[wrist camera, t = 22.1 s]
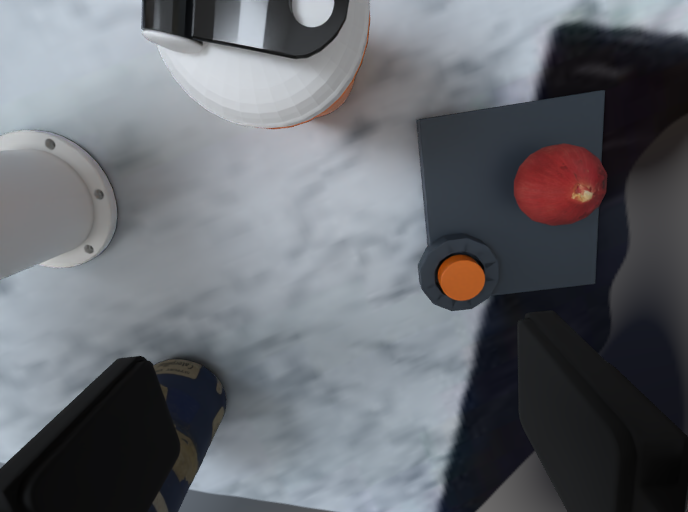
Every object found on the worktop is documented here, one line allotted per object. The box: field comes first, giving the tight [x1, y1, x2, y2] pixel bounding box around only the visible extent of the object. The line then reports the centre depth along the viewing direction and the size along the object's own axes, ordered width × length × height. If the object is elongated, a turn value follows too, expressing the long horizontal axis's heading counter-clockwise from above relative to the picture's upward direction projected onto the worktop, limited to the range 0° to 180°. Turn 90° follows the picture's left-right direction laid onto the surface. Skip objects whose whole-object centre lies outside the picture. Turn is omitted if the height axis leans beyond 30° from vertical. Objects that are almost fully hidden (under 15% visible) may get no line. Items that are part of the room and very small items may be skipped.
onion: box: [514, 144, 607, 226], centre depth 28 cm, size 6×6×8 cm
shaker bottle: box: [141, 0, 370, 129], centre depth 22 cm, size 9×9×20 cm
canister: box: [148, 359, 226, 512], centre depth 34 cm, size 10×10×18 cm
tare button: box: [438, 255, 485, 301], centre depth 32 cm, size 4×4×2 cm
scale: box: [417, 90, 605, 311], centre depth 33 cm, size 15×16×4 cm
